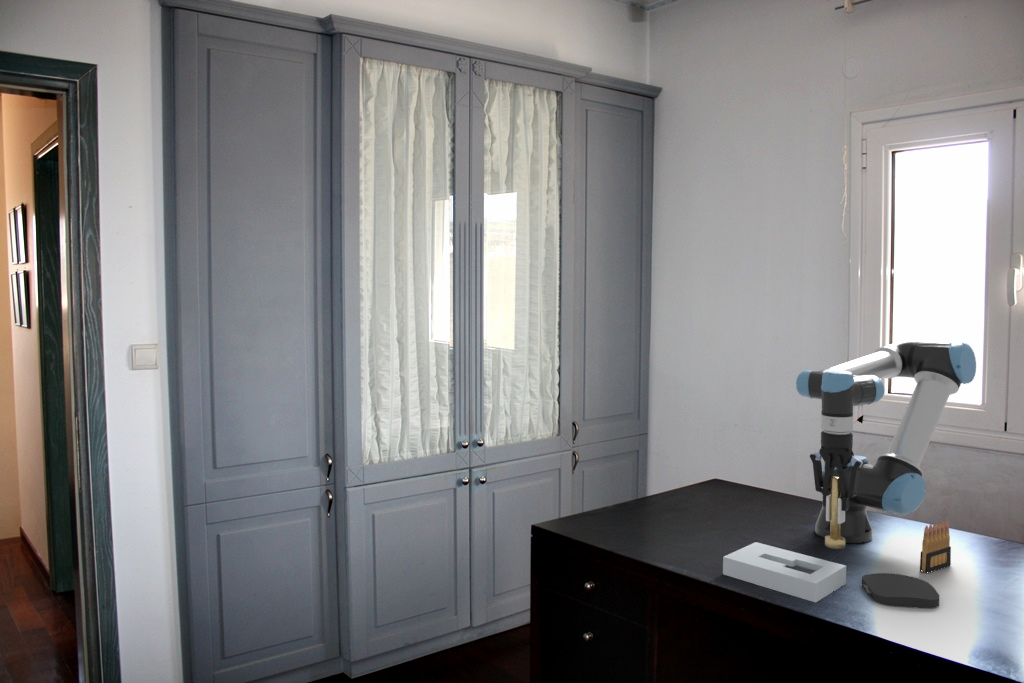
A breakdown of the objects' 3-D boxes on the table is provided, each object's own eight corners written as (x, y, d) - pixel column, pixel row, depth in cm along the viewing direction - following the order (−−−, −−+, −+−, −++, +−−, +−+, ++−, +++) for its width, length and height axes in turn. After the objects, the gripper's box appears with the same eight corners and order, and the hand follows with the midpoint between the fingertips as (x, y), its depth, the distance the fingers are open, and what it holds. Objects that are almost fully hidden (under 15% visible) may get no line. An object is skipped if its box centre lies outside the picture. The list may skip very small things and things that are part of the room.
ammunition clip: (926, 573, 192) (928, 527, 191) (919, 571, 194) (920, 525, 193) (950, 565, 197) (952, 520, 197) (943, 563, 199) (945, 518, 198)
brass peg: (840, 542, 201) (841, 475, 199) (848, 548, 196) (849, 479, 194) (822, 542, 201) (823, 475, 199) (829, 548, 196) (830, 480, 195)
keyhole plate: (845, 583, 186) (846, 565, 185) (815, 602, 175) (816, 583, 174) (755, 558, 203) (755, 542, 203) (722, 574, 192) (723, 556, 192)
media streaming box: (944, 611, 171) (945, 598, 171) (875, 606, 173) (875, 593, 173) (921, 586, 185) (922, 573, 185) (857, 582, 188) (857, 570, 187)
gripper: (801, 429, 199) (800, 518, 201) (861, 437, 188) (859, 531, 190) (814, 425, 204) (813, 511, 206) (873, 433, 193) (871, 524, 195)
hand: (835, 520), depth 198 cm, fingers closed on brass peg, 2 cm apart
